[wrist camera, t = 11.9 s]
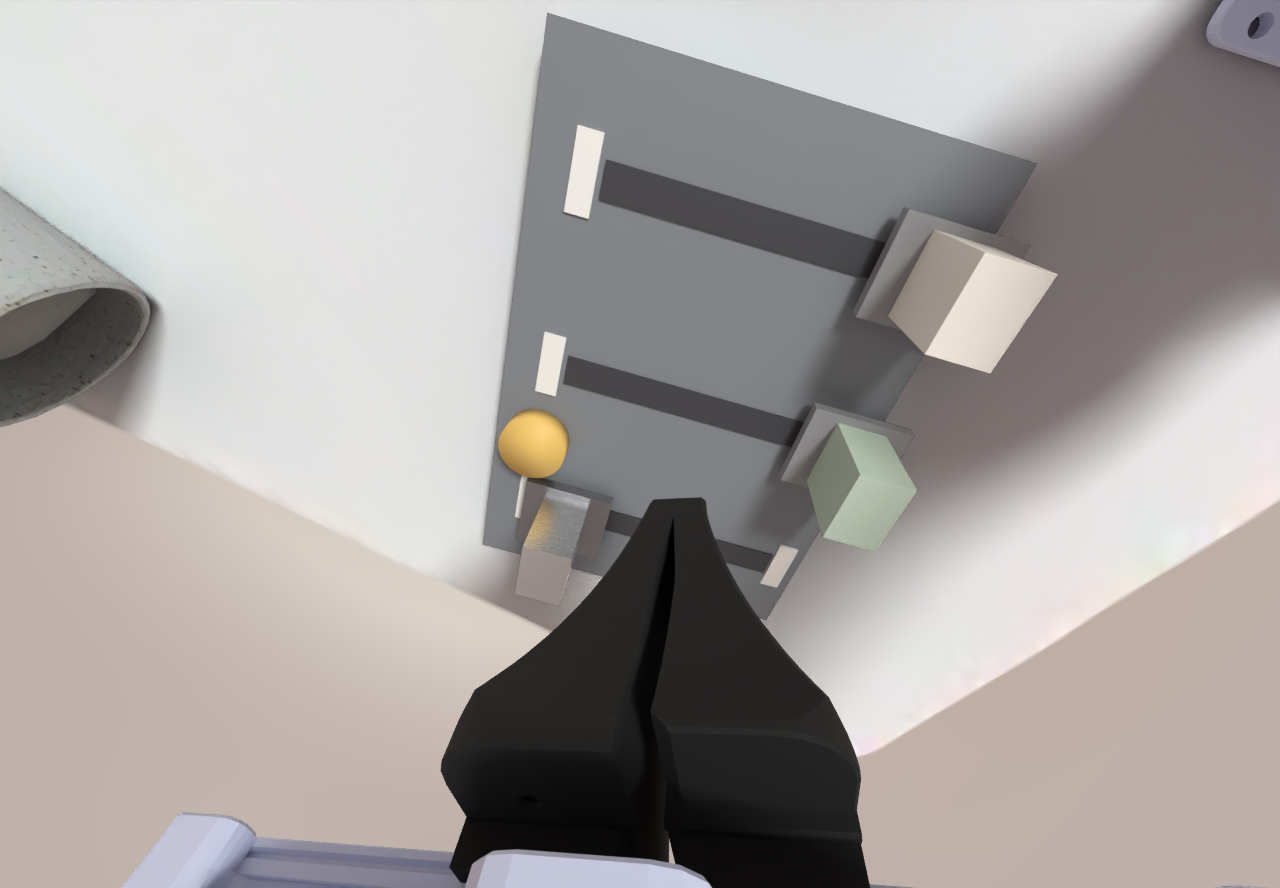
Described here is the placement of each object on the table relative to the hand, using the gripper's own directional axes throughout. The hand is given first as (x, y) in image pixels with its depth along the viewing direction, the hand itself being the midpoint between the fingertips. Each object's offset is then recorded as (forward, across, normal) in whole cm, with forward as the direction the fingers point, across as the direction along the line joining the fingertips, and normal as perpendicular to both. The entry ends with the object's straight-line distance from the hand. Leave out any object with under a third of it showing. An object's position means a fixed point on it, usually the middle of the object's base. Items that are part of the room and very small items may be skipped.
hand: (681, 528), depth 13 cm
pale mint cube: (+7, -6, +2) cm, 9 cm away
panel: (+8, 0, 0) cm, 8 cm away
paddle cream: (+7, -8, -4) cm, 11 cm away
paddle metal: (+7, +6, +5) cm, 10 cm away
